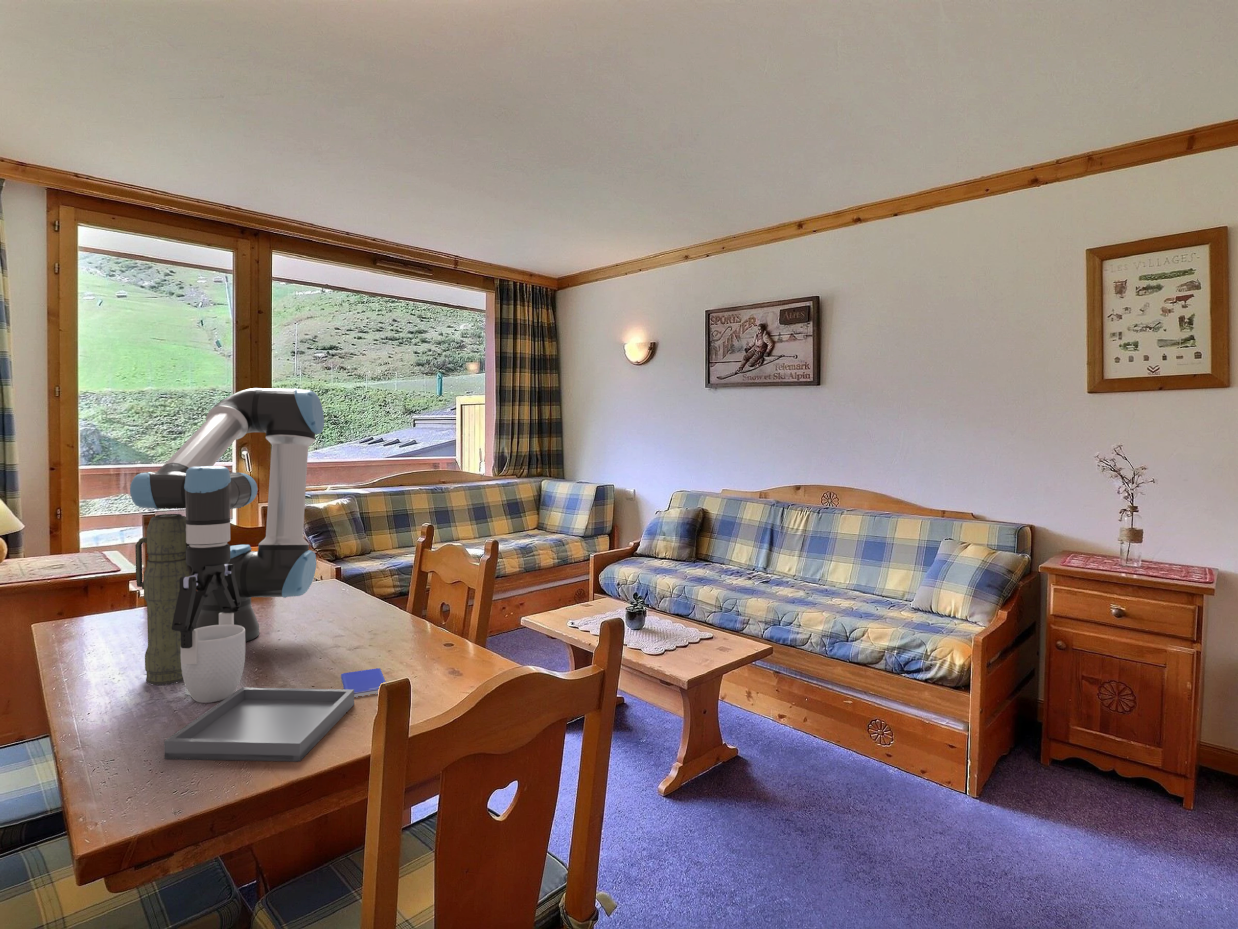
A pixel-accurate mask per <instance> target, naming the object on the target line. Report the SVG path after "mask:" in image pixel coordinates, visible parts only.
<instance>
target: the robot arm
mask: <svg viewBox="0 0 1238 929" xmlns="http://www.w3.org/2000/svg"><path fill="white" fill-rule="evenodd" d="M324 428H325V416H324V409H323V405H322V402H321V399H320V398H319V395H318V394H317V393H316V392H315V391H314V390H311V389H299V388H262V387H253V388H247V389H243V390H240V391H237V392H236V393H234V394H231V395H229V396H227V397H225V398H223V399H222V400H221V401H219V402H218V403H217V404H215V405H214V406H212V407H211V409H210V410H209V411H208V412H207V414H206V417H205V422H204V423H203V424H201V426H200V427H198V429H197V430H196V431H195V432H194V433H193V434H192V435H191V436H190V437H189V438H188V439H187V440H186V441H185V442H184V443H183V444H182V446H180V447H179V449H178V450H176V452H175V453H174V454H172V456H171V457H170V458H169V459H168V460H167V461H166V462H165V463H164V464H162V466H161V467H160V468H159V469H158V470H157V471H156V472H152V471H148V472H140V473H137V474H136V475H135V476H133V478H132V479H131V482H130V487H129V493H130V499H131V501H132V502H133V504H134V506H136V507H138V508H143V509H154V510H155V509H156V510H162V509H163V510H167V509H170V510H171V509H175V510H176V509H178V510H179V509H180V510H181V509H185V517H186V543H187V544H189V545H190V546H187V548H186V564H187V565H188V566H191V567H192V573H191V576H189V577H181V578H180V580H179V582H180V590H179V595H178V599H177V604H176V609H175V613H174V618H173V623H172V630H175V631H180V632H181V661H182V664H197V663H198V629H197V628H200V627H206V626H213V625H225V624H232V625H239V626H242V627H244V628H245V643H246V642H249V641H252V640H254V639H256V638H257V637H258V636H259V635H260V624H259V621H258V619H257V616H256V614H255V611H254V609H253V607H252V598H283V599H286V598H291V597H300V596H303V595H305V594H306V593H307V592H308V590H309V589H310V587H311V585H312V584H313V581H314V577H315V575H316V571H317V570H316V569H317V560H316V558H317V555H316V553H315V552H314V551H313V550H310V543H309V542H308V541H307V540H306V539H305V538H304V525H305V523H304V522H305V506H306V491H307V489H306V488H307V473H308V472H307V471H308V455H309V447H310V446H311V445H312V444H314V443H315V441H316V435H319V434H322V432H323V430H324ZM250 433H263V434H264V433H265V439H266V441H268V443H270V445H271V450H270V451H271V453H270V465H269V467H270V469H269V481H268V483H269V484H268V496H267V497H268V498H267V513H266V525H265V526H266V528H265V529H266V530H265V537H264V538H263V539H262V540H261V541H260V542H259V543H258V547H257V548H258V549H257V551H256V550H252V549H253V548H252V547H251V545H250V544H236V545H231V544H229V543H228V542H231V510H235V509H242V508H244V507H245V506H247V505H250V504H251V503H252V502H253V501H254V500H255V499H256V497H257V494H258V490H259V489H258V484H257V482H256V480H255V479H254V478H253V477H252V476H250V475H249V474H247V473H245V472H239V471H238V472H230V469H229V468H228V467H226V466H223V465H222V466H220V465H217V466H216V463H217V461H219V460H220V459H221V457H222V456H223V454H225V453H226V451H228V449H229V447H230V446H231V445H232V444H233V443H234V442H235V441H236V440H240V439H242V438H243V437H245V436H246V434H250ZM188 588H189V589H188ZM189 623H190V624H189Z"/></svg>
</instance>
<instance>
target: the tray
mask: <svg viewBox="0 0 1238 929" xmlns="http://www.w3.org/2000/svg"><path fill="white" fill-rule="evenodd" d="M354 705H355V698H354V690H349V689H340V688H339V689H338V688H335V689H334V688H295V687H294V688H291V687H286V688H285V687H284V688H283V687H282V688H281V687H241V688H239V689H238V690H235V692H234V693H233V694H232V695H230V696H229V697H227V698H226V699H224V700H221V701H219V703H218V704H216V705H214V706H213V707H212V708H210V709H208V710H207V711H205V713H203V714H201V715H200V716H198V717H197V718H195V719H194V720H192V721H191V722H190V723H188V724H187V725H185V726H183V728H181V729H180V730H178V731H177V732H175V733H174V734H172V735H171V736H170V737H168V738H166V739H165V740H164V741H163V742H164V744H163V745H164V746H163V748H164V753H163V754H164V760H195V761H196V760H197V761H199V760H201V761H204V760H205V761H251V762H252V761H254V762H255V761H257V762H258V761H259V762H262V761H264V762H301V761H302V760H303V759H304V758H305V757H306V756H307V755H308V753H309V752H310V751H312V750H313V748H314V747H315V746H317V744H319V742H320V741H321V740H322V739H324V737H325V736H326V735H327V734H328V733H329V731H331V730H332V729H333V727H334V726H335V725H336V724H337V723H338V722H340V720H341V719H342V718H343V717H344V715H346V714H347V713H348V712H349V710H351V708H353V707H354ZM346 712H347V713H346Z"/></svg>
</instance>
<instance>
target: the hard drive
mask: <svg viewBox="0 0 1238 929" xmlns="http://www.w3.org/2000/svg"><path fill="white" fill-rule="evenodd" d="M340 679H341V684H343V685H342V688H343V689H349V690H354V697H356V698H359V697H358V696H362V697H365V696H364V695H368V696H370V695H369V694H375V693H376V694H375V695H379V694H378V689H379V686H380V684H381V683H383V682H386V683H387V681H386V680H385V677H384V674H383V671H382V670H381V668H370V669H369V668H368V669H361V670H356V671H349V672H343V673H341V674H340Z"/></svg>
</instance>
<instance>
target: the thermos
mask: <svg viewBox="0 0 1238 929" xmlns="http://www.w3.org/2000/svg"><path fill="white" fill-rule="evenodd" d="M143 543H144V544H146V554H147V558H148V559H147V560H146V567H145V570H144V573H143V545H142V544H143ZM134 546H135V547H134V548H135V581H136V587H137V588H141V589H142V590H143V599H144V600H145V602H146V608H147V609H146V614H147V615H146V616H147V648H146V650H145V654H144V670H145V671H146V672H145V673H146V678H145V681H147V682H146V683H147V684H148V683H149V684H148V685H151V684H153V685H154V686H166V685H165V684H167V685H172V684H171V683H173V684H177V683H176V682H178V683H180V682H184V680H183V676H182V669H181V655H180V654H181V632H180V631H175V630H172V623H173V618H174V613H175V609H176V604H177V599H178V595H179V590H180V582H179V580H180V578H181V577H189V576H191V573H192V567H191V566H188V565H187V564H186V548H187V546H190V545H189V544H187V543H186V515H183V514H182V513H181V514H180V513H163V514H157V515H155V516H153V517H151V518H150V520H149V523H148V525H147V528H146V536H143V537H141V538H139V539H138V541H137V542H136V543H135V545H134ZM188 589H189V588H188ZM189 624H190V623H189ZM162 684H163V685H162ZM153 685H152V686H153Z"/></svg>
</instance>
